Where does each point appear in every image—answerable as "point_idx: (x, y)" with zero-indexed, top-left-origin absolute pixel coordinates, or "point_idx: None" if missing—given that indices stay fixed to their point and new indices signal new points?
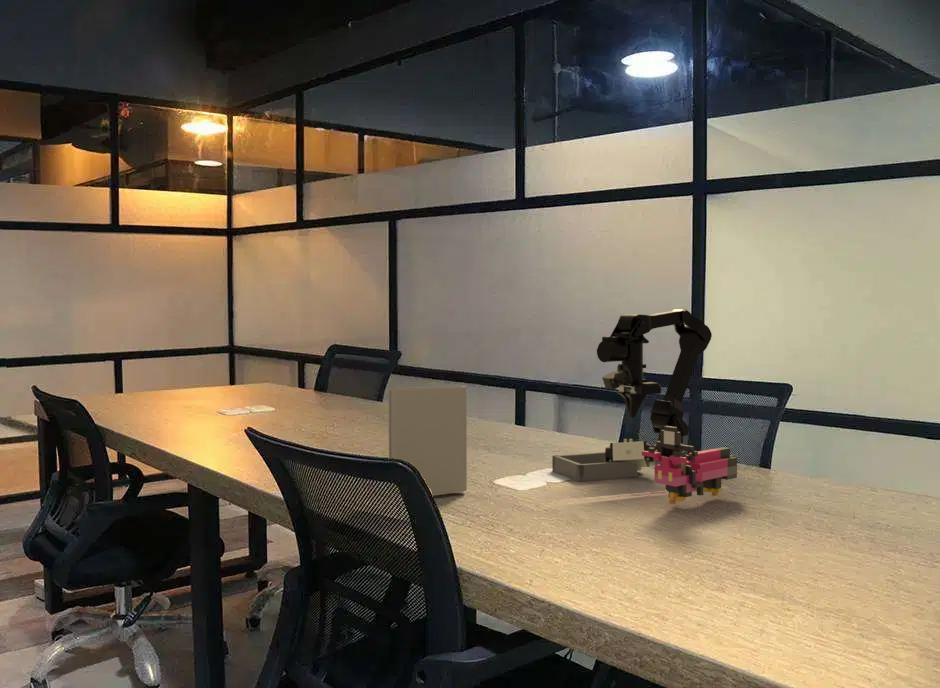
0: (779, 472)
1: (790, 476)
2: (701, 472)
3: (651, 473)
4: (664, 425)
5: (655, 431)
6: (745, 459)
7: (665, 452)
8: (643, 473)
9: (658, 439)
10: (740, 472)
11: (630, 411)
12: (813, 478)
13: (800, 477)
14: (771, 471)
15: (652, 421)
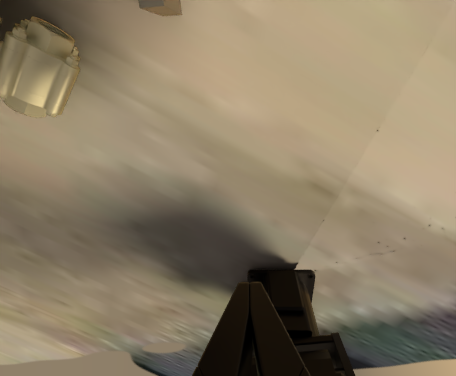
0: (62, 351)
1: (23, 346)
2: None
3: (43, 120)
4: (255, 364)
5: (332, 337)
6: None
7: (264, 282)
8: None
9: (297, 309)
10: (61, 307)
11: (236, 317)
12: (8, 360)
13: (15, 352)
14: (71, 347)
15: (326, 367)
